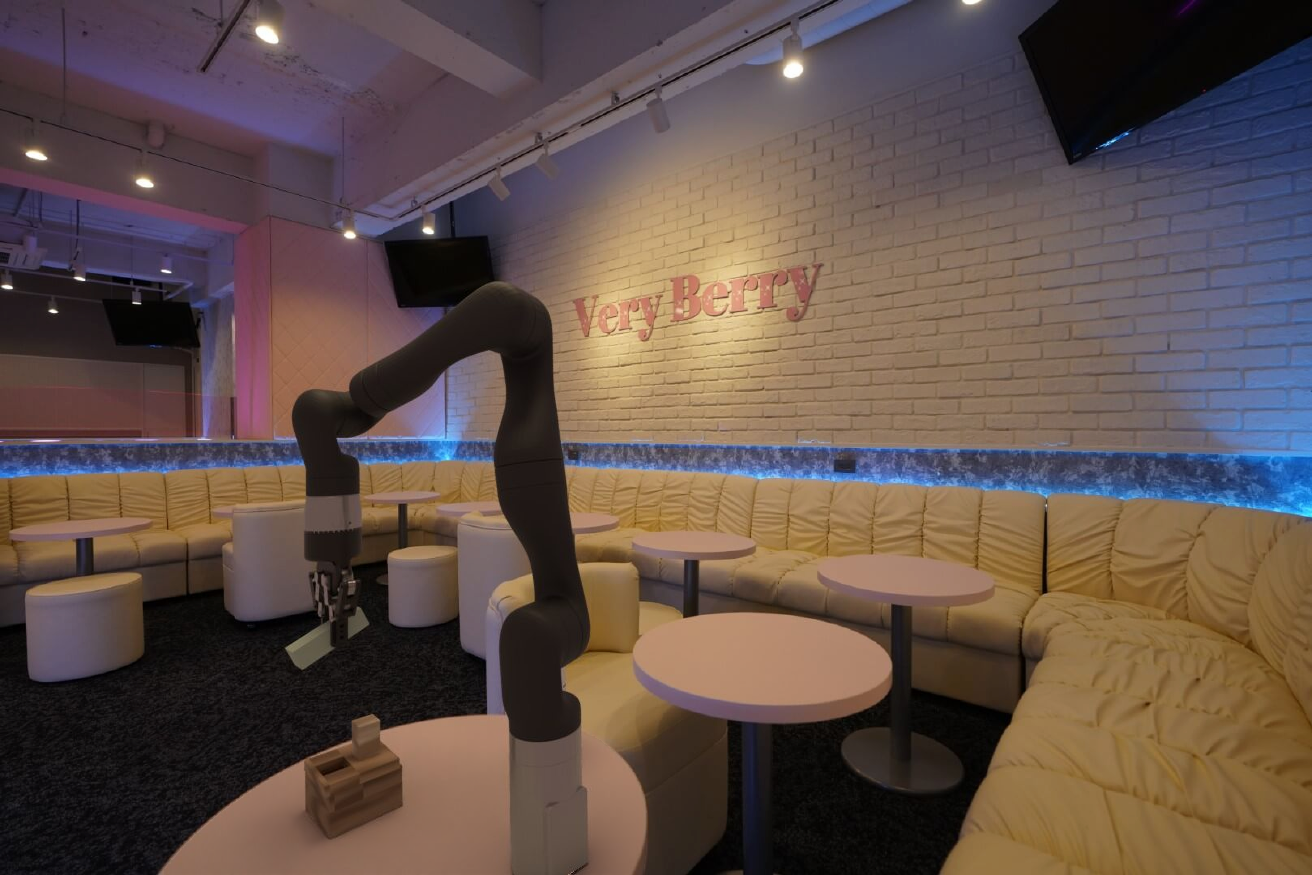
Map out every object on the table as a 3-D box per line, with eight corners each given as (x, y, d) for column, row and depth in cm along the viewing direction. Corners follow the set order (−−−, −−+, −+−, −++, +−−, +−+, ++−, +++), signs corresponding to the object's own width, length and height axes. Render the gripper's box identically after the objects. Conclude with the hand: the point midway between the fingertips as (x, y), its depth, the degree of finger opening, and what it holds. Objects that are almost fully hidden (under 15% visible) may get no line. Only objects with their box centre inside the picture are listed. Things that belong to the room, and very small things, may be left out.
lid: (399, 768, 86) (399, 724, 86) (325, 797, 79) (324, 749, 79) (374, 744, 93) (374, 704, 93) (304, 770, 86) (303, 726, 86)
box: (402, 805, 87) (402, 764, 87) (330, 839, 80) (329, 795, 80) (374, 780, 94) (374, 743, 94) (305, 809, 86) (305, 769, 87)
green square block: (302, 669, 81) (369, 624, 88) (292, 652, 80) (360, 607, 87) (294, 664, 83) (361, 620, 90) (285, 648, 82) (352, 604, 89)
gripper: (380, 526, 84) (381, 646, 84) (341, 519, 93) (342, 628, 93) (324, 532, 78) (325, 661, 78) (288, 525, 88) (289, 640, 87)
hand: (334, 642), depth 85 cm, fingers closed on green square block, 3 cm apart
